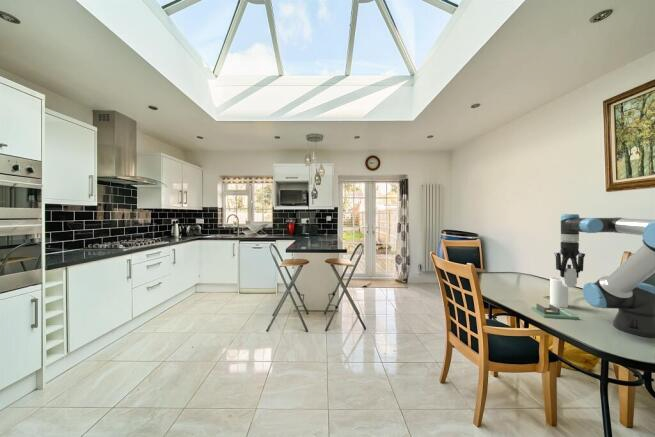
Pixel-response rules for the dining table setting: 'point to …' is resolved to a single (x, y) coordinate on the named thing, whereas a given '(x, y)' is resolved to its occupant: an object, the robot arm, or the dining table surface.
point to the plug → (570, 276)
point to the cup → (558, 293)
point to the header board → (553, 312)
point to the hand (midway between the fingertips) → (569, 283)
